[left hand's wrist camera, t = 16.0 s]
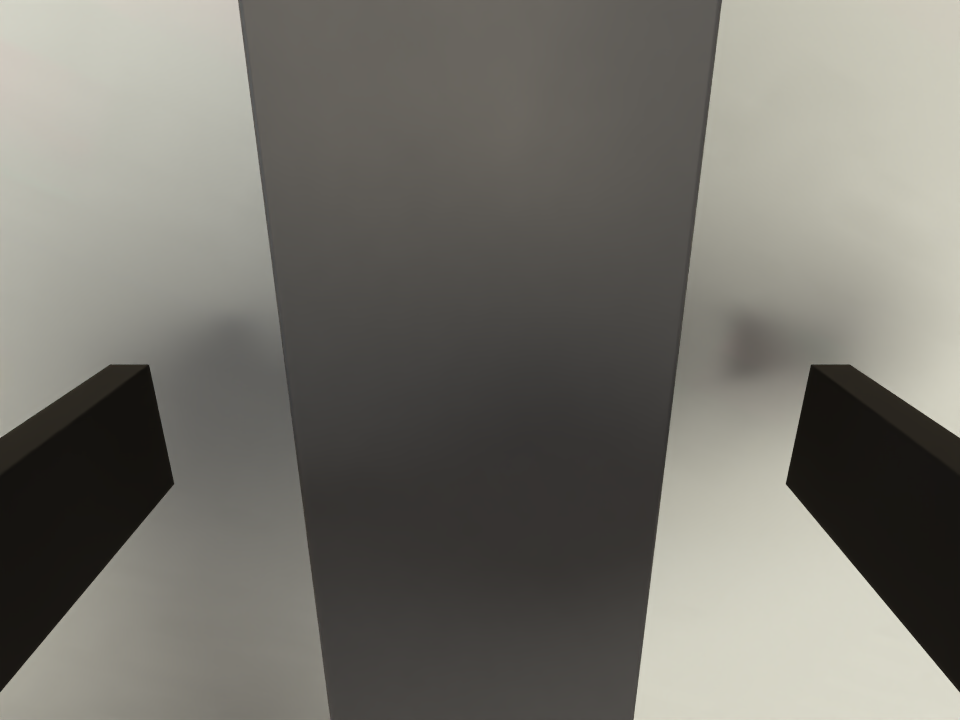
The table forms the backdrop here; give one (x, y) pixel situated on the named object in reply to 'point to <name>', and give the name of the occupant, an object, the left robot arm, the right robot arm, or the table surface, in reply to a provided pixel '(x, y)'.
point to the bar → (480, 332)
